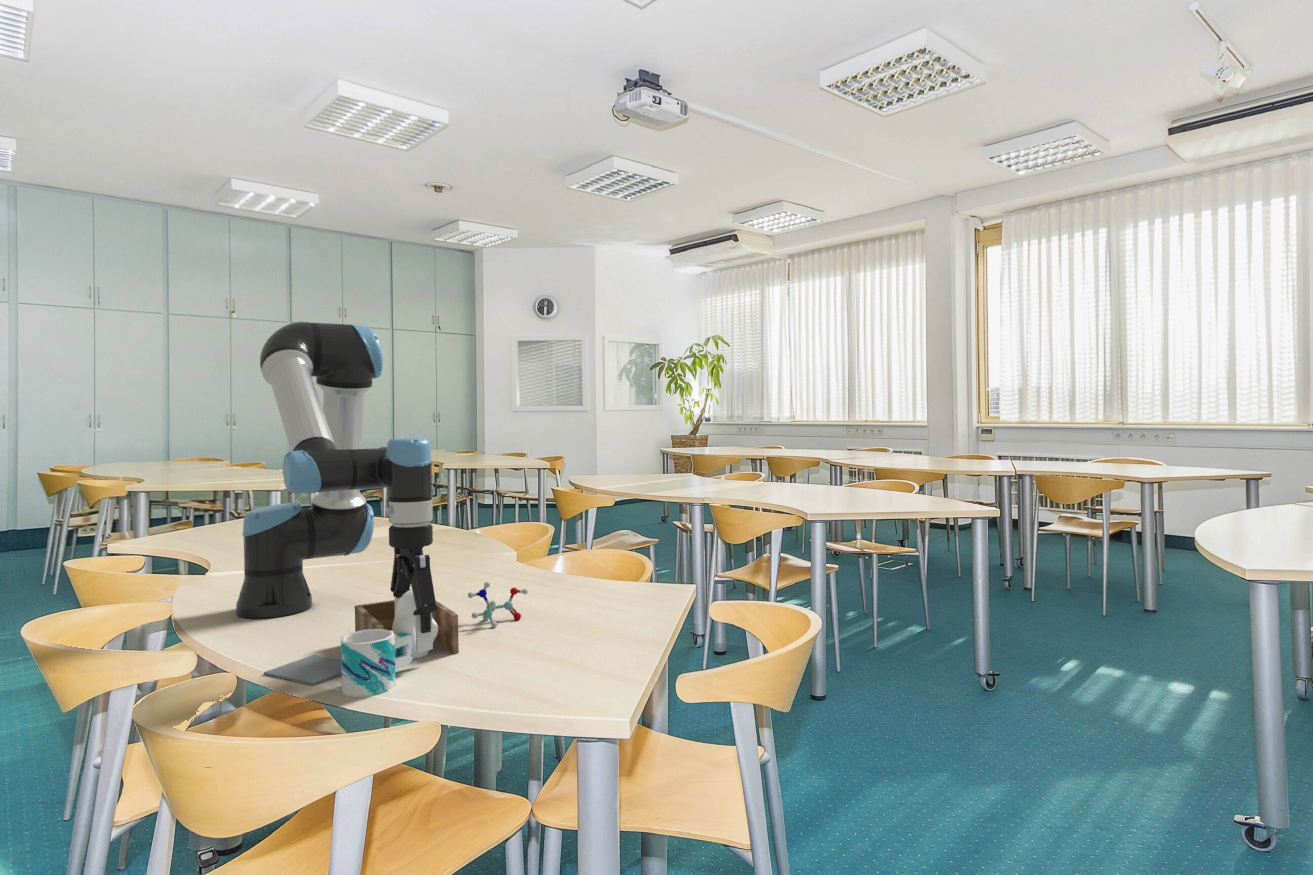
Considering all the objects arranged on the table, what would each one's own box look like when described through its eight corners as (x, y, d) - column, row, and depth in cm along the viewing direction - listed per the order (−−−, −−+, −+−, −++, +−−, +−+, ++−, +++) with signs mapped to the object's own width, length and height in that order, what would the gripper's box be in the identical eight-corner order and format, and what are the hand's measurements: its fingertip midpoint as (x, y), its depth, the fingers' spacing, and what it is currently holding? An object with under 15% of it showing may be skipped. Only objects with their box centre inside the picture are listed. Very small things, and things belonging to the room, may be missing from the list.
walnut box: (355, 641, 143) (354, 605, 142) (428, 629, 150) (427, 595, 150) (378, 668, 128) (378, 627, 127) (458, 652, 135) (458, 614, 135)
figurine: (411, 663, 130) (410, 595, 129) (383, 656, 134) (381, 590, 134) (443, 652, 136) (441, 587, 136) (414, 645, 140) (413, 582, 140)
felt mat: (263, 674, 125) (263, 672, 125) (314, 656, 134) (314, 654, 134) (313, 685, 120) (313, 682, 120) (362, 666, 129) (362, 663, 129)
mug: (330, 691, 117) (329, 638, 117) (389, 667, 128) (388, 619, 128) (367, 700, 113) (366, 645, 113) (425, 675, 124) (424, 625, 124)
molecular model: (509, 614, 148) (494, 569, 152) (471, 635, 150) (456, 590, 154) (538, 616, 158) (522, 574, 162) (501, 636, 160) (487, 594, 164)
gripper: (372, 518, 142) (374, 628, 143) (409, 534, 122) (411, 663, 122) (412, 514, 147) (414, 621, 147) (454, 530, 126) (456, 654, 126)
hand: (413, 640), depth 135 cm, fingers open, 13 cm apart
